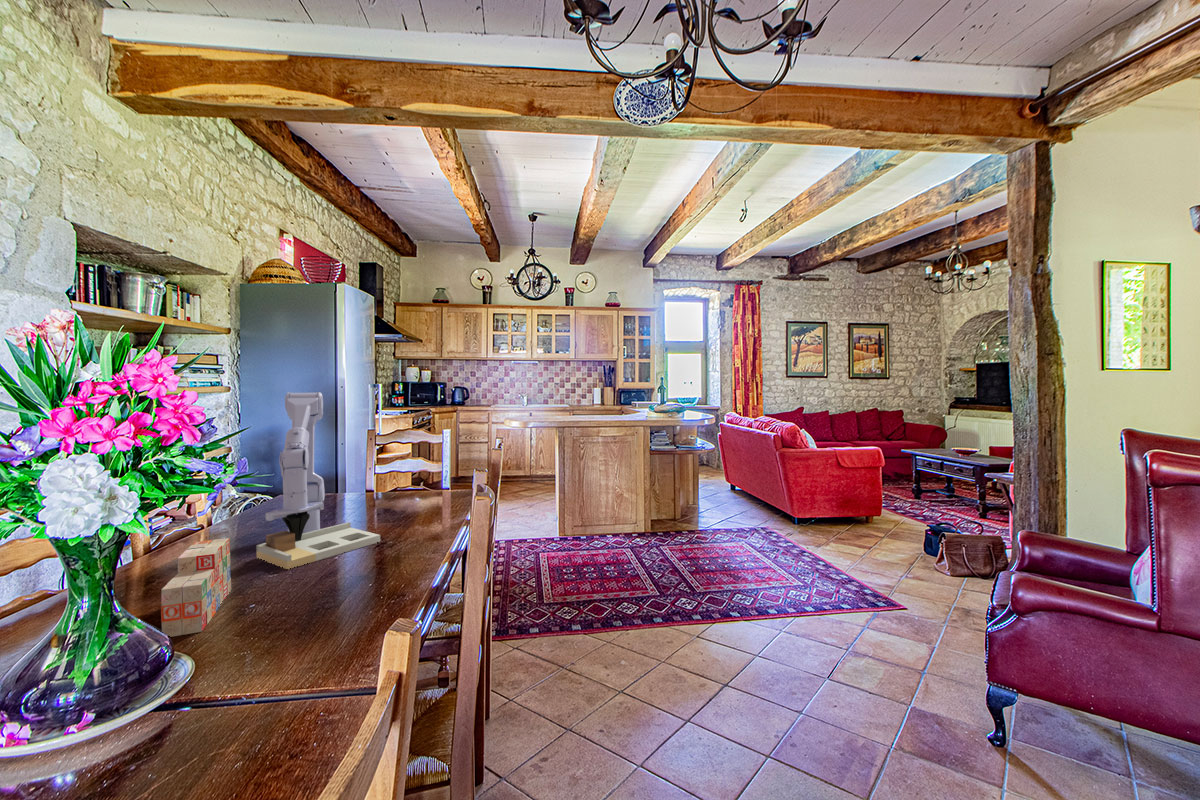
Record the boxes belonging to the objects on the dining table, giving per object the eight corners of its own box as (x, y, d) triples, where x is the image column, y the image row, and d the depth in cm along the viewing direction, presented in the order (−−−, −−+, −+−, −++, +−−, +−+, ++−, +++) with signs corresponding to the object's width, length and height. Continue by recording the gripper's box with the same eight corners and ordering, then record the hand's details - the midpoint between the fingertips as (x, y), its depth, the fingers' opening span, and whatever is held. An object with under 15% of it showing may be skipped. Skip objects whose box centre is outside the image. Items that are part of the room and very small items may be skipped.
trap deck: (256, 558, 135) (256, 545, 135) (348, 533, 157) (348, 522, 157) (287, 569, 127) (287, 555, 127) (380, 541, 149) (380, 529, 149)
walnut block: (266, 550, 136) (265, 535, 136) (285, 545, 140) (285, 530, 140) (275, 553, 133) (275, 538, 133) (295, 548, 137) (294, 533, 137)
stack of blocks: (203, 632, 95) (201, 568, 95) (161, 639, 93) (158, 573, 92) (231, 590, 115) (230, 536, 114) (197, 595, 112) (195, 540, 112)
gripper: (274, 498, 132) (275, 550, 132) (329, 488, 144) (330, 535, 144) (261, 495, 135) (262, 545, 136) (315, 486, 148) (316, 532, 148)
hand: (296, 540), depth 140 cm, fingers closed
